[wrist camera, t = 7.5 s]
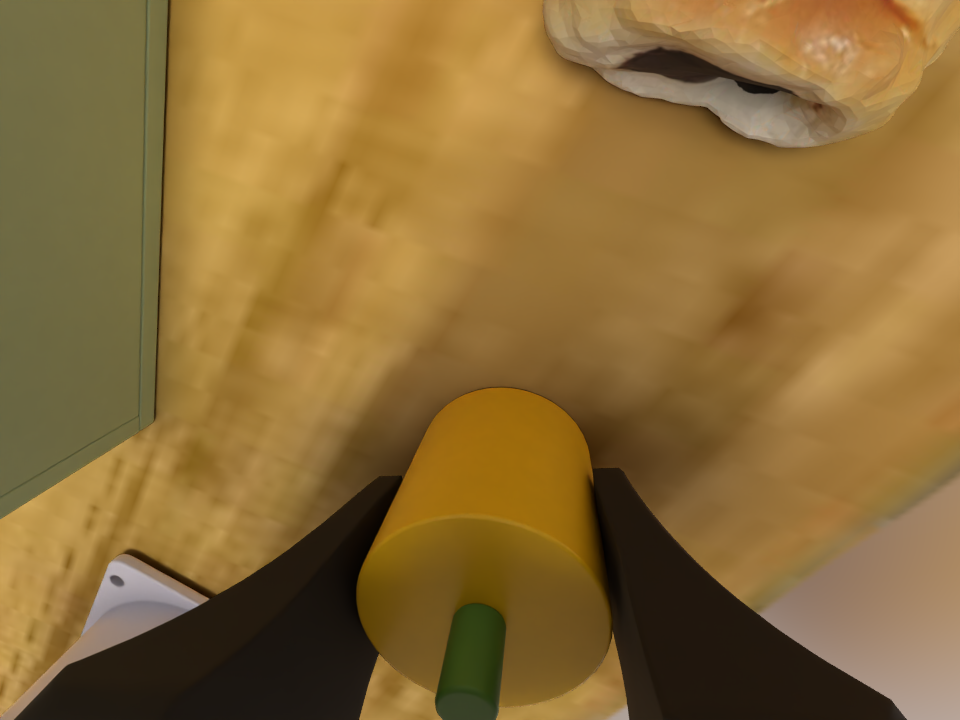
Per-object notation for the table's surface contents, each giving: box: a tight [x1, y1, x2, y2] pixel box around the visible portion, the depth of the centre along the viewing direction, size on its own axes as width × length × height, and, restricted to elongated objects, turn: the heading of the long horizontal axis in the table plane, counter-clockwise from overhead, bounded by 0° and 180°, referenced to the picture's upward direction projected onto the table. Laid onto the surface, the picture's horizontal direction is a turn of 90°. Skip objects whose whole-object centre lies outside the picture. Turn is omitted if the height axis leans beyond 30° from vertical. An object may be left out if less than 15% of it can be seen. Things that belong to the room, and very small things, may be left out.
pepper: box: [356, 388, 613, 720], centre depth 10 cm, size 5×5×7 cm
